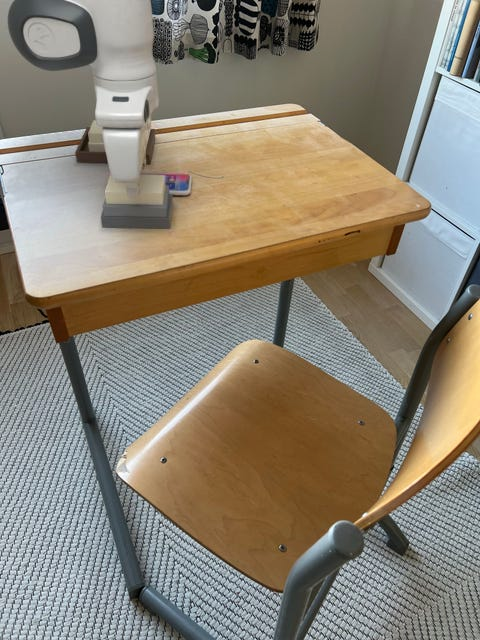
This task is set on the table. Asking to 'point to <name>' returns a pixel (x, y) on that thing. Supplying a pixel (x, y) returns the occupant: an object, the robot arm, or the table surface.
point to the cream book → (149, 191)
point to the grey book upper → (138, 208)
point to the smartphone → (176, 182)
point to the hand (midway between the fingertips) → (137, 181)
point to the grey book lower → (139, 220)
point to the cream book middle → (95, 133)
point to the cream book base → (96, 147)
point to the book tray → (101, 157)
